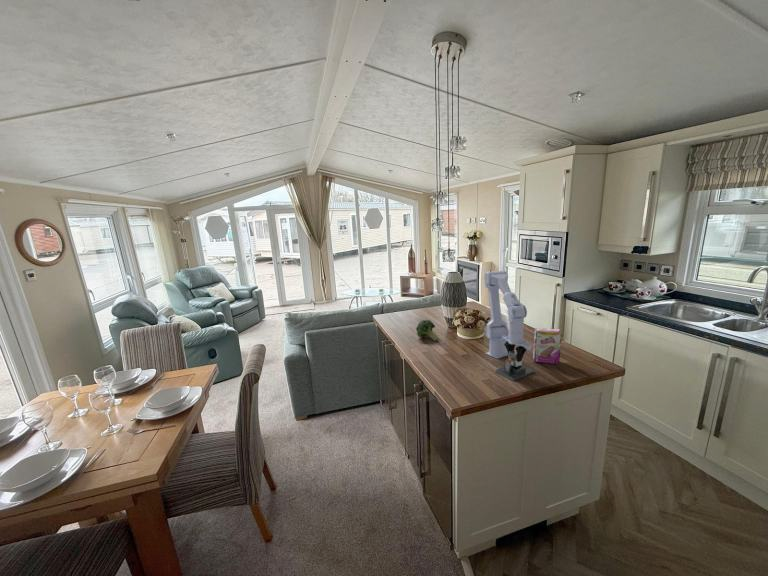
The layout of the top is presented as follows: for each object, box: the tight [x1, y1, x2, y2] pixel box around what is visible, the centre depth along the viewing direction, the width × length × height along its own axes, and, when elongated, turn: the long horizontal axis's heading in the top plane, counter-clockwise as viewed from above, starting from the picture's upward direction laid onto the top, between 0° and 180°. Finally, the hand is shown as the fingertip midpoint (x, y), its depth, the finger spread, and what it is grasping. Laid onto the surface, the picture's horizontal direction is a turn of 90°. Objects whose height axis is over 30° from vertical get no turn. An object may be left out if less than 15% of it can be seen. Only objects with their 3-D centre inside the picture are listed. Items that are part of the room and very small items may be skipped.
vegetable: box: [415, 319, 439, 342], centre depth 190 cm, size 12×13×15 cm
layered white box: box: [507, 349, 523, 367], centre depth 142 cm, size 5×4×6 cm
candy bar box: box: [532, 327, 563, 365], centre depth 151 cm, size 11×5×16 cm, turn 71°
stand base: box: [495, 358, 535, 382], centre depth 143 cm, size 14×10×7 cm
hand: (515, 359), depth 143 cm, fingers closed on layered white box, 4 cm apart
